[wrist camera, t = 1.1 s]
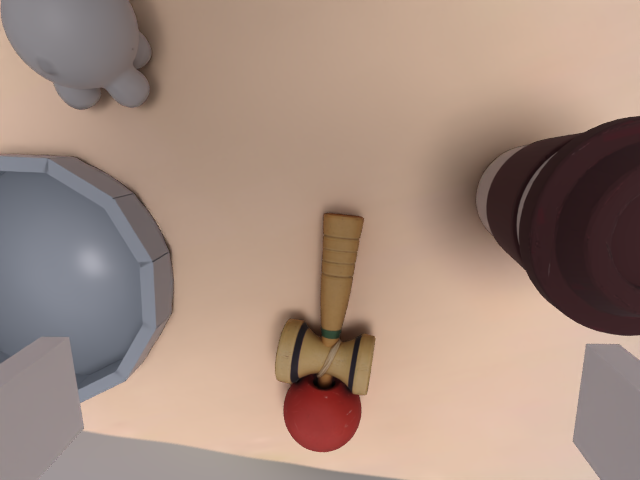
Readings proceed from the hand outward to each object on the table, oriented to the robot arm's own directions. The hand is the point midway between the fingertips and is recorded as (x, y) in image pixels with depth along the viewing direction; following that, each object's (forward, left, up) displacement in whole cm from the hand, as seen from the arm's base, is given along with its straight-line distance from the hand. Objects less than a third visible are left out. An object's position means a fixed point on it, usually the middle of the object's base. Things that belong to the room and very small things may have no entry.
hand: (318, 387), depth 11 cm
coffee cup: (-3, +14, -23) cm, 27 cm away
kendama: (+8, 0, -23) cm, 24 cm away
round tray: (+5, -22, -23) cm, 32 cm away
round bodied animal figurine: (-14, -16, -23) cm, 31 cm away
